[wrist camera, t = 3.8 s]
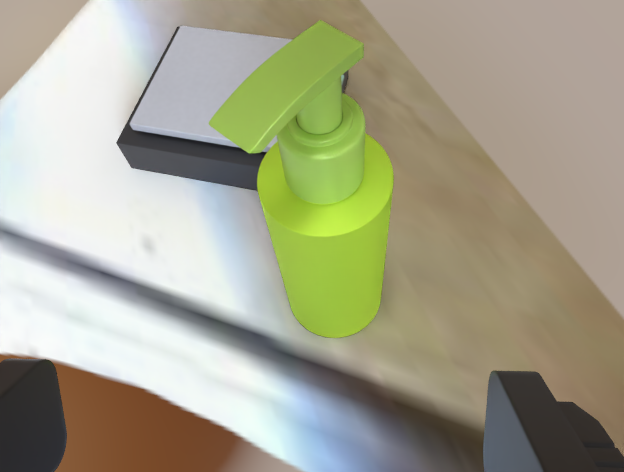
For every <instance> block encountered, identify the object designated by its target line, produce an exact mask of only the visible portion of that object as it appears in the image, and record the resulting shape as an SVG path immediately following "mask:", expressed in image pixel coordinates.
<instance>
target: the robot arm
mask: <svg viewBox="0 0 624 472" xmlns="http://www.w3.org/2000/svg"><path fill="white" fill-rule="evenodd" d="M66 439H67V433H66V425H65V419H64V413H63V407H62V401H61V395H60V389H59V384H58V378H57V372H56V369H55V366H54V365H53V363H52V362H51V361H49V360H46V359H6V360H3V361H2V362H1V363H0V472H54V471H55V470H56V469H57V467H58V466H59V464H60V462H61V460H62V457H63V455H64V451H65V447H66ZM483 460H484V470H485V472H624V457H623V455H622V454H621V452H620V451H619V450H618V448H615V446H614V443H613V441H612V440H611V438H610V437H609V435H608V434H607V433H606V431H605V430H604V428H603V427H602V426H601V424H600V423H599V421H597V420H596V419H595V418H593V417H592V416H591V415H589V414H588V413H587V412H585V411H584V410H582V409H581V408H580V407H578V406H577V405H576V404H574V403H573V402H557V401H556V400H555V398H554V396H553V395H552V393H551V392H550V390H549V388H548V387H547V385H546V384H545V382H544V380H543V379H542V377H541V376H540V374H539V373H538V372H528V371H492V372H491V374H490V378H489V384H488V396H487V408H486V420H485V432H484V445H483Z"/></svg>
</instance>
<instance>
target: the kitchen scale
mask: <svg viewBox="0 0 624 472" xmlns="http://www.w3.org/2000/svg"><path fill="white" fill-rule="evenodd" d="M290 41H292V39H285V38H277V37H269V36H261V35H253V34H245V33H237V32H229V31H222V30H214V29H206V28H198V27H190V26H182V25H181V26H180V27H177V29H176V31H175V32H174V34H173V36H172V38H171V40H170V42H169V44H168V46H167V48H166V50H165V51H164V53H163V55H162V57H161V59H160V61H159V63H158V65H157V67H156V68H155V70H154V72H153V74H152V76H151V78H150V80H149V82H148V84H147V86H146V87H145V89H144V91H143V93H142V95H141V97H140V99H139V101H138V103H137V105H136V106H135V108H134V110H133V112H132V114H131V116H130V118H129V120H128V122H127V124H126V125H125V127H124V129H123V131H122V133H121V135H120V137H119V139H118V141H117V145H118V146H119V148H120V150H121V151H122V153H123V154H124V156H125V158H126V159H127V161H128V163H129V164H130V166H131V167H132V168H136V169H142V170H147V171H153V172H159V173H164V174H170V175H175V176H181V177H186V178H192V179H197V180H203V181H208V182H214V183H219V184H225V185H231V186H236V187H242V188H247V189H253V190H258V189H257V176H258V171H259V167H260V164H261V162H262V160H263V158H264V156H265V155H266V153H267V152H268V151H269V149H270V148H271V147H272V146H273V145H274V144H275V143H276V142H277V141H278V140H277V135H276V136H275V137H274V138H273V139H272V141H271V142H270V143H269V144H268V145H267V146H266V147H265V149H264V150H263V151H262V152H260V153H247V152H246V151H244V150H243V149H242V148H240V147H239V146H237V145H236V144H234V143H233V142H232V141H230V140H229V139H227V138H226V137H225V136H223V135H222V134H220V133H219V132H218V131H216V130H215V129H214V128H212V127H211V126H210V125H209V121H210V120H211V118H212V117H213V116H214V114H215V113H216V112H217V111H218V110H219V108H220V107H221V106H222V105H223V104H224V102H225V101H226V100H227V99H228V98H229V97H230V96H231V94H232V93H233V92H234V91H235V90H236V89H237V88H238V87H239V86H240V85H241V84H242V82H243V81H244V80H245V79H246V78H247V77H248V76H249V75H251V74H252V73H253V72H254V71H255V70H256V69H257V68H258V67H259V66H260V65H261V64H263V63H264V62H265V61H266V60H267V59H268V58H270V57H271V56H272V55H273V54H275V53H276V52H277V51H278V50H280V49H281V48H282V47H284V46H285V45H286V44H288V43H289V42H290ZM347 80H348V70H347V71H346V72H345V73H344V74H343V75H341V82H342V93H344V90H345V86H346V83H347Z"/></svg>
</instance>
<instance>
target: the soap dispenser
mask: <svg viewBox="0 0 624 472" xmlns="http://www.w3.org/2000/svg"><path fill="white" fill-rule="evenodd" d="M363 56H364V44H363V43H361V42H360V41H358V40H356V39H354V38H352V37H350V36H349V35H347V34H345V33H343V32H341V31H339V30H338V29H336V28H334V27H332V26H330V25H329V24H327V23H325V22H323V21H321V20H320V21H318V22H317V23H315V24H314V25H313V26H311V27H310V28H308V29H307V30H306V31H304V32H303V33H301V34H300V35H299V36H297V37H296V38H294V39H293V40H292V41H290V42H289V43H288V44H286V45H285V46H284V47H282V48H281V49H280V50H278V51H277V52H276V53H275V54H273V55H272V56H271V57H270V58H268V59H267V60H266V61H265V62H264V63H263V64H261V65H260V66H259V67H258V68H257V69H256V70H255V71H254V72H253V73H252V74H251V75H249V76H248V77H247V78H246V79H245V80H244V81H243V82H242V84H241V85H240V86H239V87H238V88H237V89H236V90H235V91H234V92H233V93H232V94H231V96H230V97H229V98H228V99H227V100H226V101H225V102H224V104H223V105H222V106H221V107H220V108H219V110H218V111H217V112H216V113H215V114H214V116H213V117H212V118H211V120H210V121H209V125H210V126H211V127H212V128H214V129H215V130H216V131H218V132H219V133H220V134H222V135H223V136H225V137H226V138H227V139H229V140H230V141H232V142H233V143H234V144H236V145H237V146H239V147H240V148H242V149H243V150H244V151H246V152H247V153H260V152H262V151H263V150H264V149H265V147H266V146H267V145H268V144H269V143H270V142H271V141H272V139H273V138H274V137H275V136H276V135H277V140H278V141H277V142H276V143H275V144H274V145H273V146H272V147H271V148H270V149H269V151H268V152H267V153H266V155H265V156H264V158H263V160H262V162H261V164H260V167H259V171H258V176H257V189H258V194H259V198H260V201H261V205H262V208H263V212H264V215H265V219H266V222H267V226H268V229H269V233H270V236H271V240H272V243H273V247H274V250H275V254H276V257H277V261H278V264H279V268H280V271H281V275H282V278H283V282H284V285H285V289H286V292H287V296H288V299H289V303H290V306H291V309H292V312H293V314H294V316H295V317H296V319H297V320H298V321H299V323H300V324H301V325H302V326H304V327H305V328H306V329H307V330H309V331H311V332H312V333H314V334H317V335H320V336H323V337H329V338H340V337H346V336H350V335H352V334H355V333H357V332H359V331H360V330H362V329H363V328H365V327H366V326H367V325H368V324H369V323H370V322H371V321H372V320H373V318H374V317H375V315H376V313H377V311H378V309H379V305H380V301H381V292H382V283H383V274H384V265H385V256H386V246H387V237H388V228H389V219H390V210H391V200H392V191H393V181H394V176H393V168H392V165H391V162H390V159H389V157H388V155H387V153H386V152H385V150H384V149H383V148H382V146H381V145H380V144H379V143H378V142H377V141H376V140H374V139H373V138H372V137H371V136H369V135H368V134H366V133H365V118H364V114H363V111H362V109H361V108H360V106H359V105H358V104H357V102H356V101H355V100H353V99H352V98H351V97H349V96H347V95H346V94H343V93H342V82H341V75H343V74H344V73H345V72H346V71H347V70H349V69H350V68H351V67H352V66H353V65H355V64H356V63H357V62H358V61H359V60H361V59H362V58H363Z"/></svg>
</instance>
